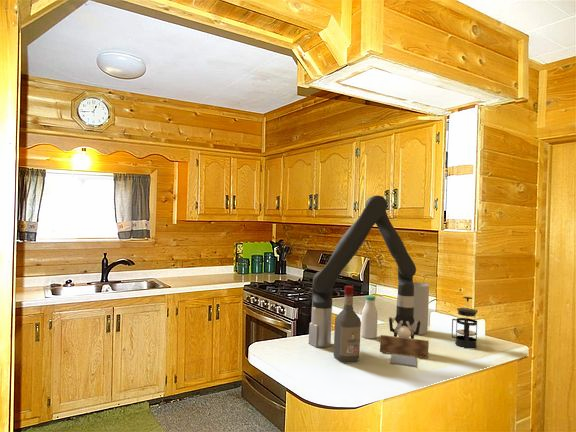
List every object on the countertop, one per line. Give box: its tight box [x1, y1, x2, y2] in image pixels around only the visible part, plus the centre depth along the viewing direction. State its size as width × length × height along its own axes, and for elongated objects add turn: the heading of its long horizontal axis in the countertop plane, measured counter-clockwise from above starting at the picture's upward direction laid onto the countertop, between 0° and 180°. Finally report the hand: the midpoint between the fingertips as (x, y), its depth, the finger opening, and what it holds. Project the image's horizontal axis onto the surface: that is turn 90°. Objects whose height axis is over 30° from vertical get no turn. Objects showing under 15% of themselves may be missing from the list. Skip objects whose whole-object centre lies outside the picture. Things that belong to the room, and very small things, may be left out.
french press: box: [451, 296, 478, 349], centre depth 190 cm, size 12×9×23 cm
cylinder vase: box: [411, 281, 430, 336], centre depth 210 cm, size 12×12×25 cm
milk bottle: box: [360, 295, 378, 340], centre depth 198 cm, size 8×8×20 cm
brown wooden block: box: [379, 334, 429, 360], centre depth 174 cm, size 20×5×7 cm, turn 73°
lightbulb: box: [397, 326, 411, 338], centre depth 181 cm, size 6×6×11 cm
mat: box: [389, 353, 417, 368], centre depth 166 cm, size 10×10×1 cm
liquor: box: [333, 285, 361, 364], centre depth 166 cm, size 9×9×30 cm
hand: (403, 342), depth 181 cm, fingers closed on lightbulb, 6 cm apart
